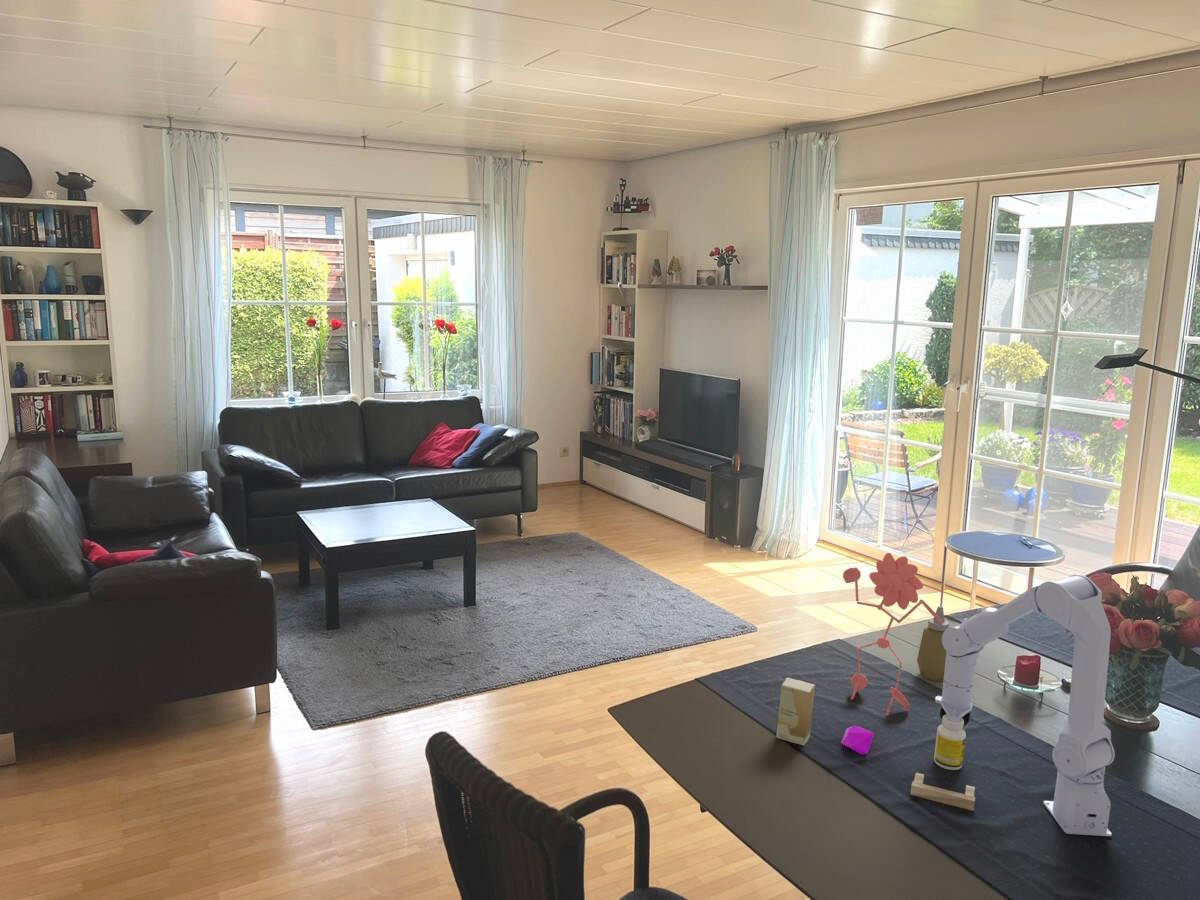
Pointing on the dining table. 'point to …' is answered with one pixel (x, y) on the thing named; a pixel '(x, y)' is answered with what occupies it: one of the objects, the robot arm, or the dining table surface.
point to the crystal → (857, 739)
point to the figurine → (894, 586)
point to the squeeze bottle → (933, 649)
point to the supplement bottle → (950, 744)
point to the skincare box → (795, 711)
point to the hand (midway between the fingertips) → (951, 743)
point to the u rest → (943, 794)
